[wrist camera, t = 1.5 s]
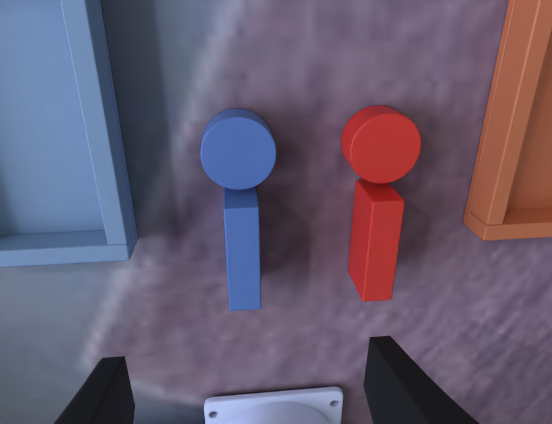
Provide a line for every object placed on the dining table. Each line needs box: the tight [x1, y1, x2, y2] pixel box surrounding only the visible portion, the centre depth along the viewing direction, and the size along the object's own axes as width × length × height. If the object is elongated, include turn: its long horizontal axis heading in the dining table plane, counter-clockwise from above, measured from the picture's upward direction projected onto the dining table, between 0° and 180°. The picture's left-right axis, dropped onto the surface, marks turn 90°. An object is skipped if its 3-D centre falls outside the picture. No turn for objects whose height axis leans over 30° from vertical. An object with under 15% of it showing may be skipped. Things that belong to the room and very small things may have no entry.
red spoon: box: [341, 105, 421, 302], centre depth 19 cm, size 8×3×3 cm, turn 0°
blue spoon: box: [200, 109, 276, 311], centre depth 18 cm, size 8×3×3 cm, turn 0°
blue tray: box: [0, 0, 138, 267], centre depth 16 cm, size 12×7×2 cm, turn 0°
